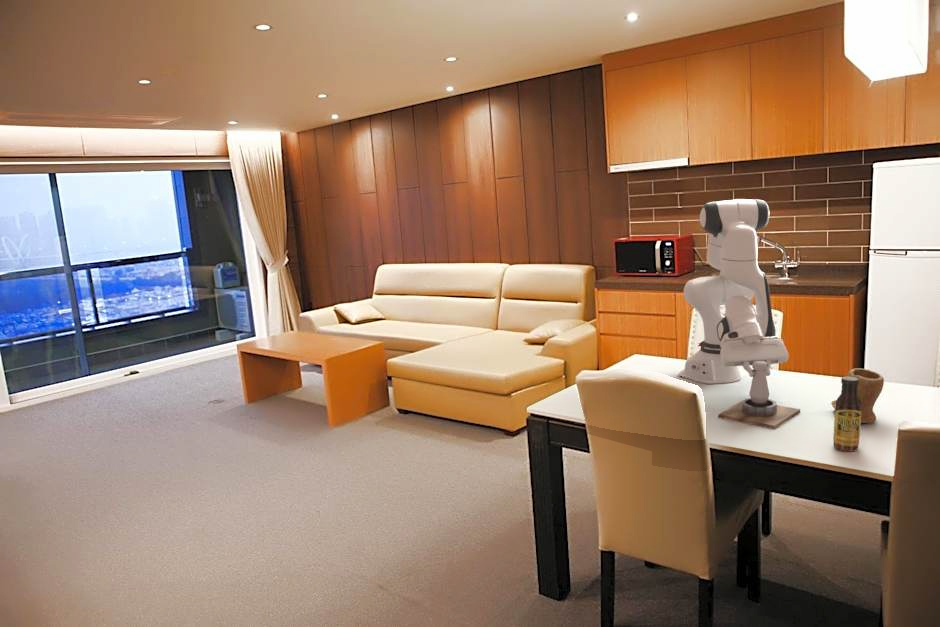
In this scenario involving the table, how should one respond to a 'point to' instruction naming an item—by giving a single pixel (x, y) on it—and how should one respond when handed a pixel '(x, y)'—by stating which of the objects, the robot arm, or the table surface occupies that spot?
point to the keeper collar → (759, 408)
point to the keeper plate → (769, 422)
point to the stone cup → (866, 391)
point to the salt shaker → (759, 383)
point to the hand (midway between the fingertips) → (760, 375)
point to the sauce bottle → (847, 416)
